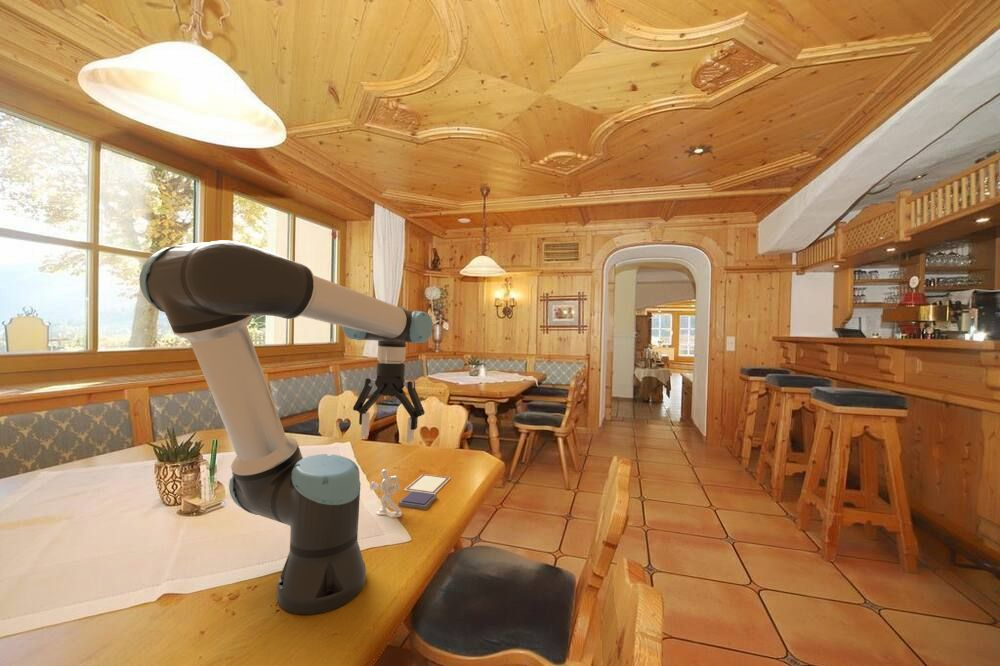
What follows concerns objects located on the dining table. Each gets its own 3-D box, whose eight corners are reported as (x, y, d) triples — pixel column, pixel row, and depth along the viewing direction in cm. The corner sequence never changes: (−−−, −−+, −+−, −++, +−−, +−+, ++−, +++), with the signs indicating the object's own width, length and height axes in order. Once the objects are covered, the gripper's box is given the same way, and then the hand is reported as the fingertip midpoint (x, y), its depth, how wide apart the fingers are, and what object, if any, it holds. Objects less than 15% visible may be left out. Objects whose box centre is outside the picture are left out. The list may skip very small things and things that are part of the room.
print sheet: (434, 494, 118) (434, 493, 118) (403, 490, 120) (403, 489, 120) (450, 478, 131) (450, 477, 131) (422, 474, 133) (422, 473, 133)
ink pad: (425, 509, 108) (425, 505, 108) (398, 505, 109) (398, 501, 109) (436, 498, 115) (436, 493, 115) (411, 494, 117) (411, 490, 117)
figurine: (399, 519, 101) (400, 473, 101) (364, 517, 102) (366, 470, 102) (405, 511, 106) (406, 466, 106) (371, 508, 107) (373, 464, 107)
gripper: (438, 364, 111) (434, 440, 110) (357, 359, 116) (353, 431, 115) (428, 365, 103) (424, 446, 103) (342, 360, 108) (338, 437, 108)
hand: (387, 439), depth 109 cm, fingers open, 13 cm apart
